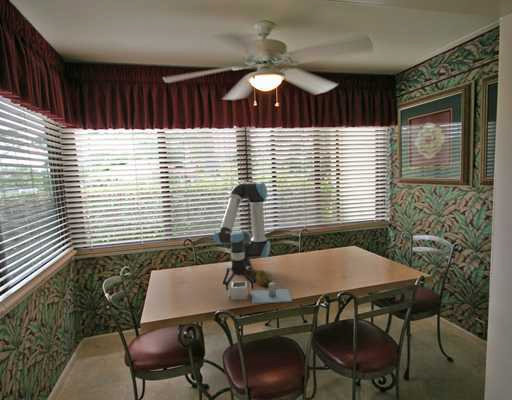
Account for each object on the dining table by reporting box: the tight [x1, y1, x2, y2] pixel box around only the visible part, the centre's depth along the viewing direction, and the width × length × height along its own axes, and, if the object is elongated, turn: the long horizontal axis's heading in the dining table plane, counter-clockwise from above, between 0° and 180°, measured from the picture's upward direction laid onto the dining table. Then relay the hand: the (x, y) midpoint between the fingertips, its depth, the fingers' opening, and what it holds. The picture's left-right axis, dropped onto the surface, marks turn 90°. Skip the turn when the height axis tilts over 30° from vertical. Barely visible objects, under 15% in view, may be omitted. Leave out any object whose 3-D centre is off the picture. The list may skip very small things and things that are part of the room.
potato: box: [255, 269, 273, 287], centre depth 188 cm, size 8×13×8 cm, turn 11°
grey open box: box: [230, 280, 248, 301], centre depth 172 cm, size 9×9×7 cm
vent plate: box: [251, 281, 293, 305], centre depth 169 cm, size 16×22×8 cm
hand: (240, 294), depth 172 cm, fingers open, 12 cm apart
